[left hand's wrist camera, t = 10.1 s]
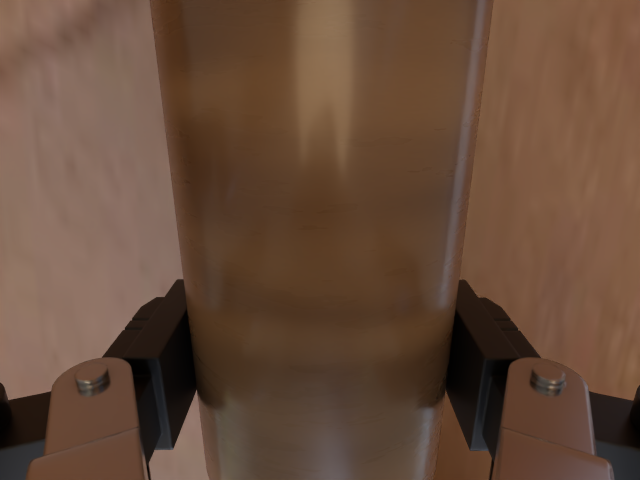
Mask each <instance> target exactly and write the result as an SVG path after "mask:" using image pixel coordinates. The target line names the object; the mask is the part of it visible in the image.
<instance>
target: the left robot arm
mask: <svg viewBox="0 0 640 480" xmlns="http://www.w3.org/2000/svg"><path fill="white" fill-rule="evenodd" d="M196 390H197V385H196V377H195V369H194V361H193V352H192V344H191V336H190V328H189V319H188V311H187V303H186V295H185V287H184V279H178V280H176V282H175V283H174V284H173V286H172V287H171V289H170V290H169V291H168V293H167V294H166V296H165V297H156V298H155V299H153V300H151V301H150V302H148V303H147V304H145V305H143V306H142V307H141V308H140V309H139V310H138V312H137V313H136V314H135V316H134V317H133V318H132V321H130V322H129V323H128V325H127V326H126V327H125V330H123V331H122V332H121V334H120V335H119V336H118V337H117V339H116V340H115V341H114V342H113V344H112V345H111V346H110V348H109V349H108V350H107V351H106V353H105V354H104V355H103V357H102V358H97V359H92V360H89V361H86V362H83V363H80V364H78V365H76V366H74V367H72V368H70V369H69V370H67V371H66V372H64V373H63V374H62V375H61V376H59V377H58V379H57V380H56V381H55V382H54V384H53V386H52V390H51V391H50V392H46V393H42V394H37V395H32V396H27V397H22V398H17V399H12V400H8V398H7V394H6V391H5V388H4V386H3V384H1V383H0V480H152V479H151V472H150V467H149V461H150V459H151V457H152V454H153V452H154V450H173V448H174V446H175V443H176V441H177V438H178V436H179V433H180V430H181V428H182V425H183V423H184V420H185V418H186V415H187V413H188V410H189V408H190V405H191V403H192V400H193V397H194V395H195V392H196ZM446 392H447V394H448V397H449V399H450V402H451V404H452V407H453V409H454V412H455V414H456V417H457V419H458V422H459V424H460V427H461V429H462V432H463V434H464V437H465V439H466V442H467V444H468V447H469V449H470V451H489V452H490V455H491V457H492V461H491V467H490V472H489V479H488V480H640V386H639V387H638V388H637V391H636V395H635V398H634V401H631V400H627V399H622V398H617V397H612V396H607V395H602V394H598V393H593V392H590V391H589V390H588V386H587V384H586V382H585V381H584V380H583V379H582V377H581V376H579V375H578V374H577V373H576V372H574V371H573V370H571V369H570V368H568V367H566V366H564V365H562V364H560V363H557V362H554V361H551V360H548V359H543V358H541V357H540V356H539V354H538V353H537V352H536V351H535V349H534V348H533V347H532V346H531V344H530V343H529V342H528V341H527V339H526V338H525V337H524V335H523V334H522V333H521V332H520V331H518V328H517V327H516V325H515V324H514V323H513V321H510V318H509V316H508V315H507V314H506V313H505V311H504V310H503V309H502V308H501V307H500V306H498V305H497V304H495V303H494V302H492V301H490V300H489V299H487V298H478V297H477V295H476V294H475V293H474V291H473V290H472V288H471V287H470V286H469V284H468V283H467V281H466V280H459V284H458V292H457V300H456V309H455V317H454V325H453V333H452V341H451V349H450V357H449V366H448V374H447V382H446Z"/></svg>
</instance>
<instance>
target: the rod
mask: <svg viewBox="0 0 640 480" xmlns="http://www.w3.org/2000/svg"><path fill="white" fill-rule="evenodd" d="M150 6H151V14H152V23H153V31H154V39H155V47H156V56H157V64H158V72H159V80H160V89H161V97H162V105H163V113H164V122H165V130H166V138H167V146H168V155H169V163H170V171H171V179H172V188H173V196H174V204H175V212H176V221H177V229H178V237H179V245H180V254H181V262H182V270H183V278H184V287H185V295H186V303H187V311H188V319H189V328H190V336H191V344H192V352H193V361H194V369H195V377H196V385H197V394H198V402H199V410H200V418H201V427H202V435H203V443H204V451H205V460H206V468H207V473H208V476H209V479H210V480H433V477H434V474H435V470H436V463H437V455H438V447H439V439H440V431H441V422H442V414H443V406H444V398H445V390H446V382H447V374H448V366H449V357H450V349H451V341H452V333H453V325H454V317H455V309H456V300H457V292H458V284H459V276H460V268H461V260H462V252H463V244H464V235H465V227H466V219H467V211H468V203H469V195H470V187H471V179H472V170H473V162H474V154H475V146H476V138H477V130H478V122H479V114H480V105H481V97H482V89H483V81H484V73H485V65H486V57H487V48H488V40H489V32H490V24H491V16H492V8H493V0H150Z"/></svg>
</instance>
